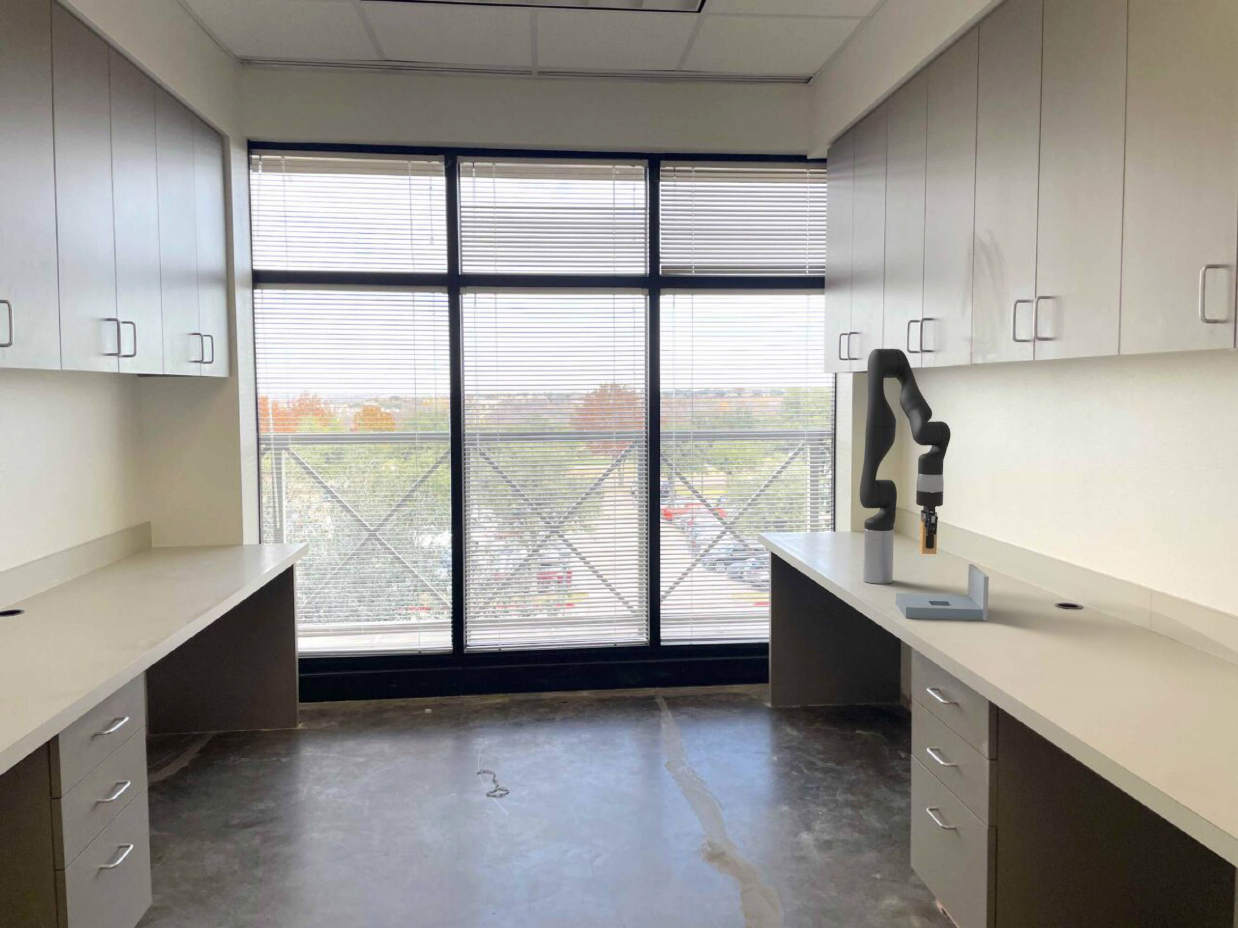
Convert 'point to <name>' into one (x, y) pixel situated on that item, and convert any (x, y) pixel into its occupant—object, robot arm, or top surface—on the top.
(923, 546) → the block
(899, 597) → the grey slotted stand
